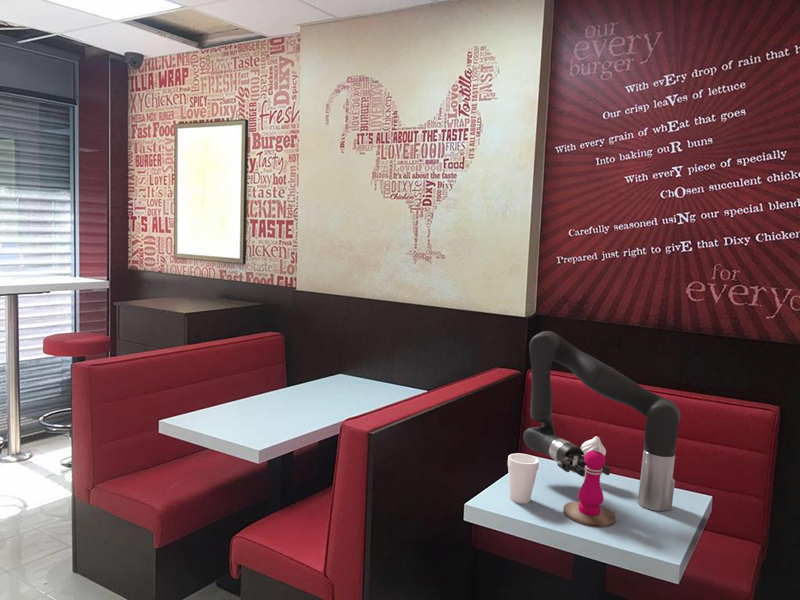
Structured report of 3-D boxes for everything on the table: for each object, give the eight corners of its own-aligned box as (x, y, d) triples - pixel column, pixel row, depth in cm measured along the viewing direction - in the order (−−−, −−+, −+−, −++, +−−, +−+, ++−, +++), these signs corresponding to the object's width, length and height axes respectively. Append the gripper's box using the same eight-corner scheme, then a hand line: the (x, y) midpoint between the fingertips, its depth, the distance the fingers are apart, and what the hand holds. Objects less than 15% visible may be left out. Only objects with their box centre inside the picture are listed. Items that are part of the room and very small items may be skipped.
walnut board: (604, 506, 208) (605, 502, 207) (623, 528, 193) (624, 524, 193) (556, 504, 207) (557, 500, 206) (572, 525, 192) (572, 521, 192)
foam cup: (526, 508, 202) (530, 466, 200) (498, 499, 207) (502, 458, 206) (540, 499, 209) (544, 459, 208) (513, 490, 215) (517, 451, 213)
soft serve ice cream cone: (572, 480, 228) (577, 434, 227) (585, 475, 234) (590, 430, 232) (594, 488, 222) (599, 441, 221) (607, 483, 228) (612, 437, 226)
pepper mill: (605, 517, 196) (613, 450, 194) (582, 516, 196) (589, 449, 194) (595, 506, 204) (602, 442, 202) (572, 506, 203) (579, 441, 201)
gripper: (547, 443, 209) (576, 461, 194) (586, 441, 214) (618, 459, 199) (545, 466, 210) (574, 486, 195) (584, 464, 215) (615, 483, 200)
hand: (596, 472), depth 197 cm, fingers open, 8 cm apart
